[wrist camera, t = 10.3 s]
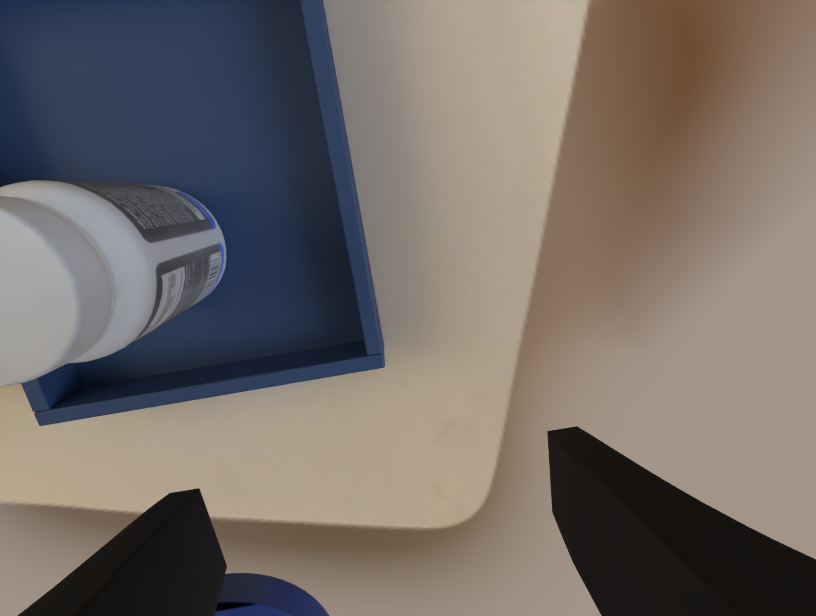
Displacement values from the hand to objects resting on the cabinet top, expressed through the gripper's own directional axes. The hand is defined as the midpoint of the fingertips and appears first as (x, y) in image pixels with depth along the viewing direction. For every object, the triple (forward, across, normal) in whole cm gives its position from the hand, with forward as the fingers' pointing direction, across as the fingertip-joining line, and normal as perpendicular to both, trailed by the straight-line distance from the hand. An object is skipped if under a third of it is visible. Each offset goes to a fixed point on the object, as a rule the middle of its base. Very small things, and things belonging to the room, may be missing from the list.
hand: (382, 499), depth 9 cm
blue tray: (+10, +7, -7) cm, 14 cm away
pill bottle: (+10, +8, -5) cm, 14 cm away
